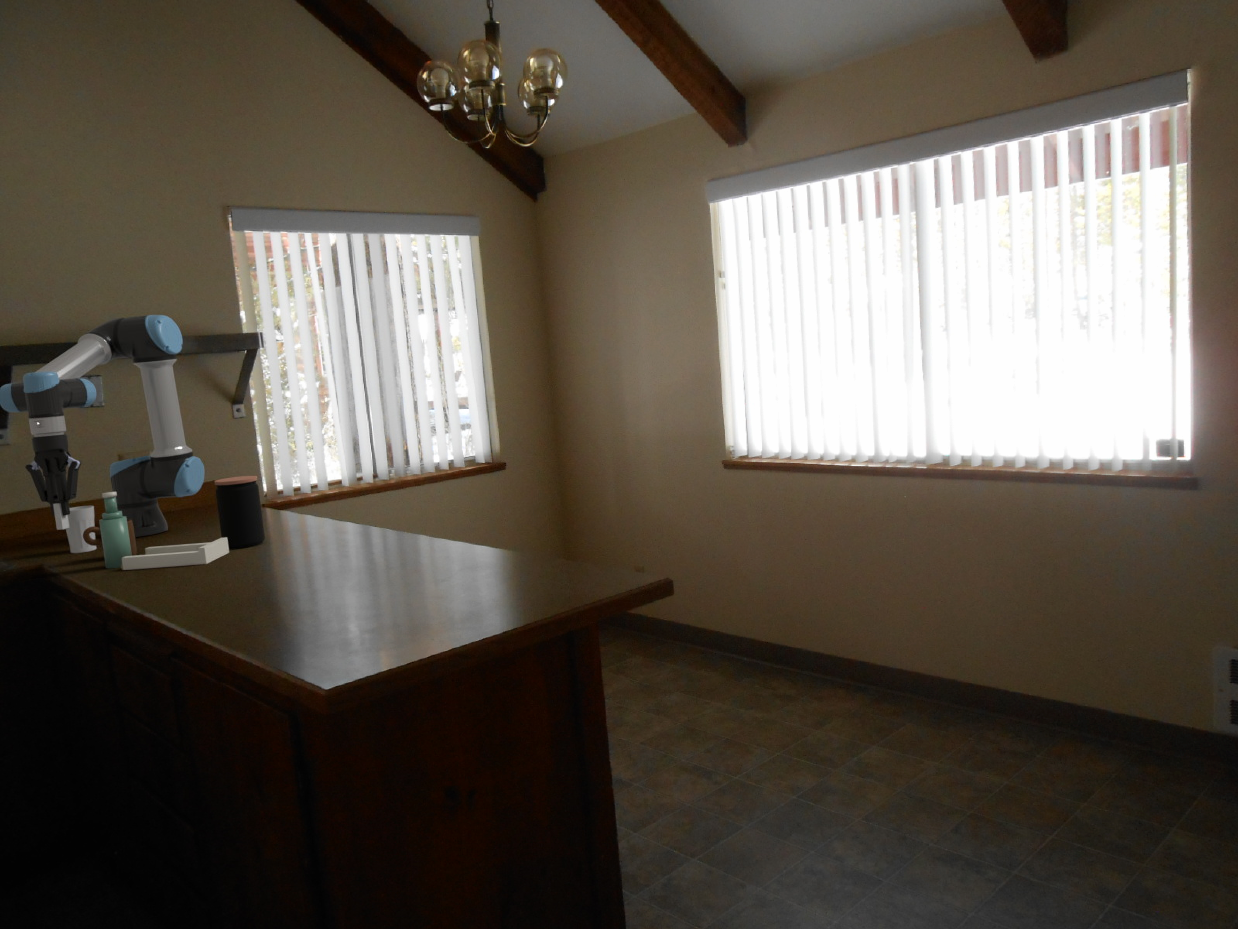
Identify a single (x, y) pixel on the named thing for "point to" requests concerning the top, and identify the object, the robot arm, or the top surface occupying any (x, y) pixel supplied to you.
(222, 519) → the coffee jar
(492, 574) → the top surface
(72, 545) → the cup
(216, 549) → the rest
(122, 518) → the bottle
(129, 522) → the mug
